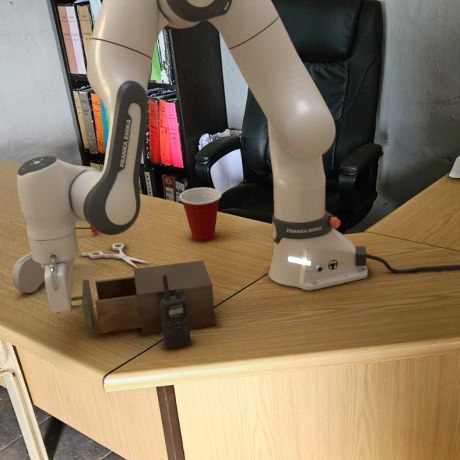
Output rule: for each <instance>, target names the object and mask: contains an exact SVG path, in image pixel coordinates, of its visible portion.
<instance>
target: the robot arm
mask: <svg viewBox="0 0 460 460" xmlns="http://www.w3.org/2000/svg"><path fill="white" fill-rule="evenodd" d="M205 21H207V22H209V23H210V24H212V26H214V27H215V28H216V30H217V31H218V32H219V33H220V36H221V38H222V40H223V42H224V44H225V46H226V47H227V49H228V52H229V53H230V55H231V57H232V58H233V59H232V60H233V61H234V62H235V64H236V66H237V68H238V70H239V72H240V74H241V76H242V77H243V79H244V81H245V83H246V85H247V87H248V89H249V90H250V91H251V94H252V95H253V97H254V99H255V100H256V102H257V104H258V105H259V108H261V110H262V112H263V114H264V116H265V117H266V119H267V131H268V143H269V144H268V145H269V155H270V163H271V170H272V180H273V181H272V183H273V211H274V212H273V214H272V218H271V235H272V236H271V237H272V240H273V247H272V255H271V262H270V266H269V270H268V273H267V274H268V278H270V279H271V280H272V281H273V282H276V283H277V284H280V285H283V286H288V287H296V288H300V289H301V290H305V291H314V290H319V289H323V288H329V287H332V286H336V285H341V284H344V283H345V284H346V283H350V282H354V281H358V280H362V279H366V278H368V276H369V275H368V274H369V270H368V267H367V259H370V260H373V261H377V262H380V263H382V264H383V265H384V266H385V268H386V269H387V270H388V271H390V272H391V273H394V274H408V273H409V274H410V273H415V272H422V271H423V272H424V271H425V272H426V271H440V270H441V271H442V270H458V269H460V264H446V265H445V264H444V265H430V266H417V267H411V268H404V269H397V268H394V267H392V266H391V265H390V264H389V263H388V261H387V260H385V259H384V258H382V257H380V256H376V255H372V254H368V253H367V247H366V246H361V245H360V246H355V244H354V243H353V241H352V240H350V238H348V237H347V236H345V235H344V234H342V233H341V232H339V230H337V229H338V228H339V227H340V226H341V220H340V219H339V218H338V217H337V216H334V215H333V214H331V212H328V211H327V210H326V174H325V170H324V169H325V168H324V163H323V155H324V154H326V153H327V152H328V151H329V150H330V149H331V148H332V145H333V144H334V141H335V138H336V124H335V121H334V117H333V115H332V113H331V111H330V109H329V107H328V105H327V103H326V101H325V99H324V98H323V96H322V94H321V92H320V90H319V88H318V87H317V85H316V83H315V82H314V79H313V78H312V76H311V75H310V73H309V70H307V68H306V66H305V64H304V63H303V61H302V59H301V57H300V56H299V53H298V52H297V50H296V48H295V46H294V44H293V42H292V40H291V38H290V35H289V33H288V31H287V30H286V28H285V25H284V23H283V22H282V19H281V17H280V15H279V13H278V11H277V9H276V7H275V5H274V3H273V2H272V0H102V1H101V4H100V6H99V9H98V12H97V15H96V19H95V21H94V25H93V30H92V33H91V38H90V43H89V47H88V51H87V59H86V60H87V61H86V62H87V63H86V78H87V81H88V83H89V85H90V87H91V89H92V91H93V92H94V93H95V95H96V97H98V98H99V100H100V101H101V102H102V104H103V107H104V108H105V110H106V113H107V117H108V134H107V141H106V148H105V156H104V162H103V169H102V170H99V169H97V168H95V167H92V166H85V165H77V164H72V163H69V162H66V161H64V160H61V159H59V158H58V157H56V156H54V155H43V156H38V157H34V158H31V159H29V160H27V161H26V162H24V163H23V164H22V165H21V166H20V167H19V168H18V170H17V173H16V187H17V195H18V201H19V206H20V210H21V211H20V212H21V215H22V216H23V218H24V220H25V222H26V237H27V242H28V245H29V251H30V253H31V255H32V259H33V260H34V261H35V262H37V263H40V264H41V267H42V268H44V269H45V281H44V284H45V290H46V295H47V296H46V297H47V301H48V306H49V309H50V311H51V312H52V313H56V312H61V313H62V315H63V316H70V315H72V313H73V310H70V309H71V306H73V303H72V301H71V297H73V296H72V295H73V285H74V284H73V283H74V282H73V281H74V271H75V264H74V263H75V258H76V257H78V255H79V254H80V247H79V241H78V235H77V231H76V230H77V229H75V228H76V224H77V222H81V221H84V222H86V223H87V224H89V226H90V225H91V226H93V227H94V228H95V229H96V230H97V232H99V233H101V234H103V235H105V236H115V235H121V234H123V233H124V232H126V231H128V230H129V229H131V227H132V226H133V225H134V224H135V222H136V221H137V219H138V217H139V215H140V211H141V203H142V202H141V193H140V172H141V165H142V158H143V153H144V144H145V137H146V130H147V123H148V113H149V98H148V87H149V77H150V72H151V68H152V61H153V58H154V53H155V49H156V48H155V47H156V42H157V41H158V38H159V36H160V34H161V32H162V31H163V30H169V31H172V30H173V31H174V30H181V29H187V28H191V27H194V26H197V25H198V24H200V23H201V22H205ZM56 314H57V313H56Z"/></svg>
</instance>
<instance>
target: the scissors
mask: <svg viewBox="0 0 460 460" xmlns="http://www.w3.org/2000/svg"><path fill="white" fill-rule="evenodd" d="M111 247H112V248H111V249H112V250H113V251H119V253H112V254H107V253H104V252H103V251H99V250H98V251H91V252H82V253H81V256H83V257H89V258H91V259H101V258H107V259H108V258H114V259H122V260H123V261H125V262H126V263H127V264H129V265H131V266H133V267H134V268H135V269H136V268H139V267H138V266H137V265H136V264H135V263H134V262H133V261H135V262H141V263H146V264H147V263H148V264H150V262H149V261H145V260H142V259H139V258H135V257H132V256H131V257H130V256H128V255H127V254H125V253H124V251H123V250H124V249H125V244H124V243H123V242H116V243H113V244H112V245H111Z"/></svg>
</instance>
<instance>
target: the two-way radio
mask: <svg viewBox="0 0 460 460" xmlns="http://www.w3.org/2000/svg"><path fill="white" fill-rule="evenodd" d="M162 277H163V289H164V299H162V300H161V301H160V309H159V312H160V319H161V324H162V332H163V333H162V337H163V343H164V347H166V348H167V349H170V350H172V349H177V348H182V347H185V346H188V345H190V344H191V342H192V341H191V329H190V323H189V309H188V303H187V301H186V299H185V297H184V296H182V293H181V290H176V293H175V296H173V295H172V294H171V293H169V288H168V281H167V275H166V274H163V276H162Z"/></svg>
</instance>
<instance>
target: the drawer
mask: <svg viewBox="0 0 460 460" xmlns="http://www.w3.org/2000/svg"><path fill="white" fill-rule="evenodd" d="M94 282H95V288H96V294H97V299H96V300H94V301H93V295H92V290H91V289H92V288H91V285H90V279H83V280H82V289H81V290H82V291H81V292H82V294H81V295H80V296H72V297H71V302H76V301H81V304H76V305H72V306H71V309H70V310H72V311H73V310H80V309H82V313H83V317H84V322H85V327H86V333H87V337H88V338H95V325H96V324H95V319H96V318H95V317H96V316H95V315H97V319H98V325H99V329H100V330H99V331H100V333H101V334H103V333H110V332H118V331H125V330H126V331H127V330H133V329H139V328H140V329H142V327H141V320H140V313H139V307H138V300H137V293H136V285H135V277H134V275H133V276H125V277H124V276H123V277H117V278H110V279H100V280H95V281H94ZM94 303H95V306H94ZM95 308H96V309H95ZM95 310H96V313H95ZM60 313H62V312H56V314H60Z"/></svg>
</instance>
